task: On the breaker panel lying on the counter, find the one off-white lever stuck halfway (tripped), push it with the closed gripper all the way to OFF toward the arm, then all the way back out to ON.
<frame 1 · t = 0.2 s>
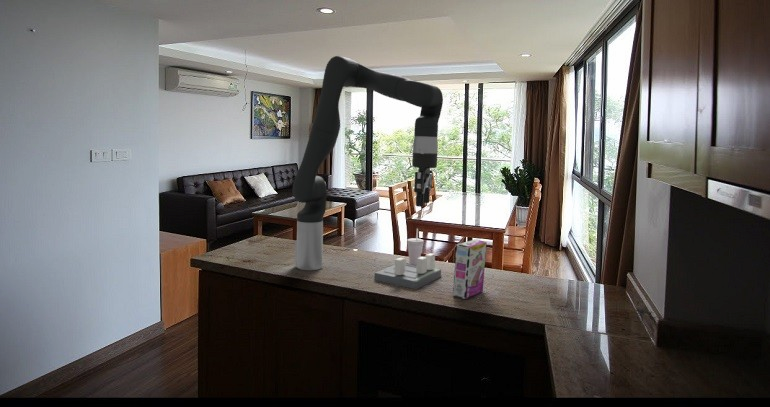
hand: (422, 204, 145), 27 cm above the counter, fingers open, 8 cm apart
breaker panel: (408, 278, 162), on the counter
candy bar box: (468, 294, 147), on the counter
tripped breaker: (400, 266, 156), point 5 cm above the counter, slide at 5.0 cm
smoothie: (414, 265, 180), on the counter
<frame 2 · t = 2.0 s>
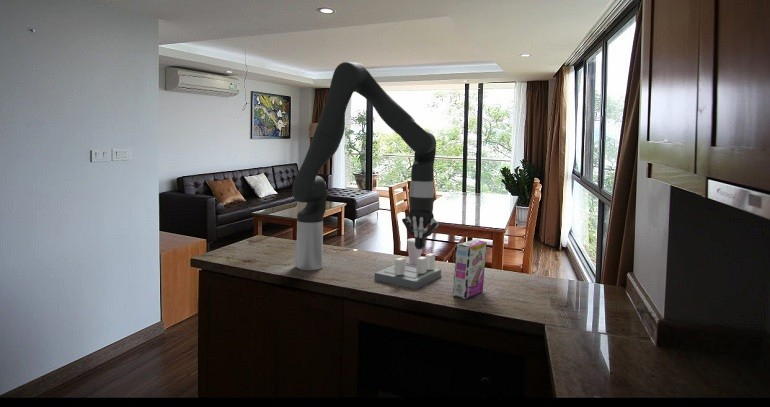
hand: (419, 248, 151), 13 cm above the counter, fingers closed
nothing on the counter moved.
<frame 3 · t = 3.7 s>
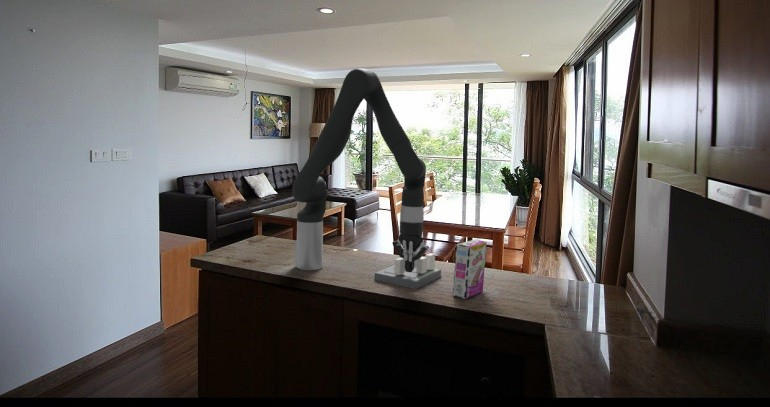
hand: (409, 271, 154), 4 cm above the counter, fingers closed
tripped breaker: (399, 266, 156), point 5 cm above the counter, slide at 4.9 cm, touching gripper
everything else where it was.
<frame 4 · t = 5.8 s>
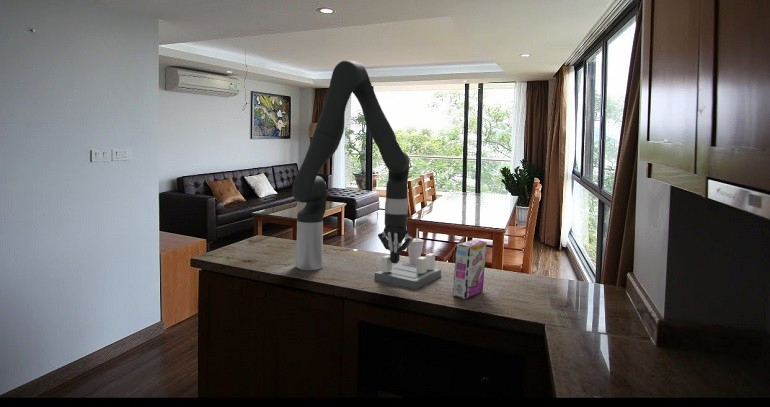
hand: (394, 262, 157), 6 cm above the counter, fingers closed
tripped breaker: (386, 263, 158), point 5 cm above the counter, slide at -0.1 cm, touching gripper
everything else where it was.
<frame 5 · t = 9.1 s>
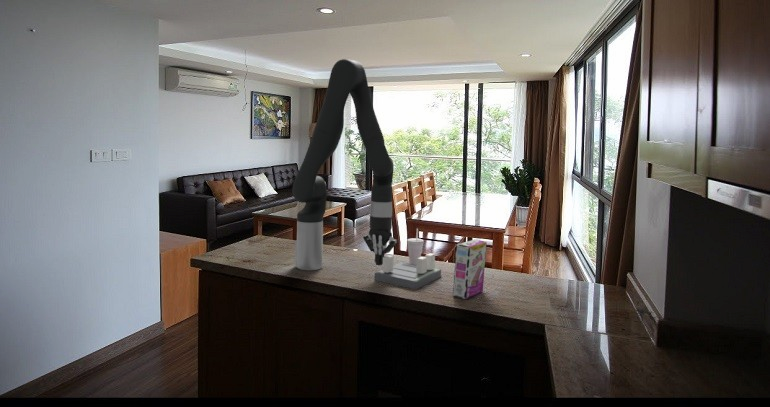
hand: (379, 264, 160), 5 cm above the counter, fingers closed
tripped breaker: (388, 263, 158), point 5 cm above the counter, slide at 0.3 cm, touching gripper
everything else where it was.
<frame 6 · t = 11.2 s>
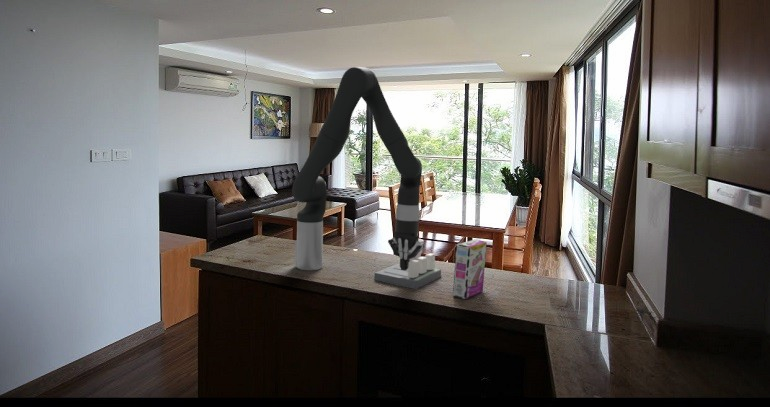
hand: (404, 269, 155), 5 cm above the counter, fingers closed
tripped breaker: (413, 268, 153), point 5 cm above the counter, slide at 10.2 cm, touching gripper
everything else where it was.
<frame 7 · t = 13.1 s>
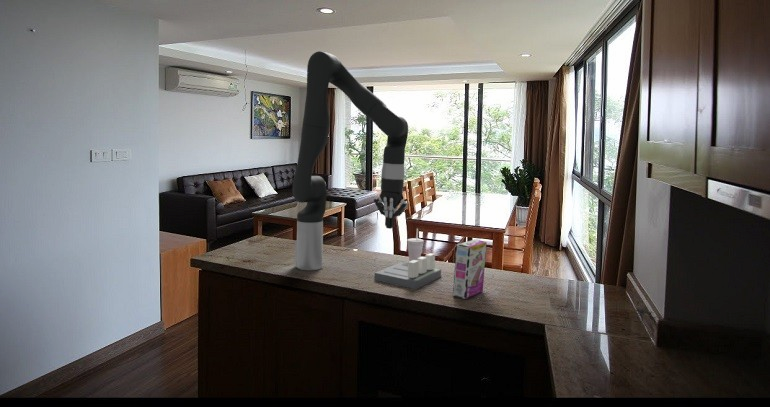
hand: (389, 228, 159), 17 cm above the counter, fingers closed
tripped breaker: (413, 268, 153), point 5 cm above the counter, slide at 10.1 cm
everything else where it was.
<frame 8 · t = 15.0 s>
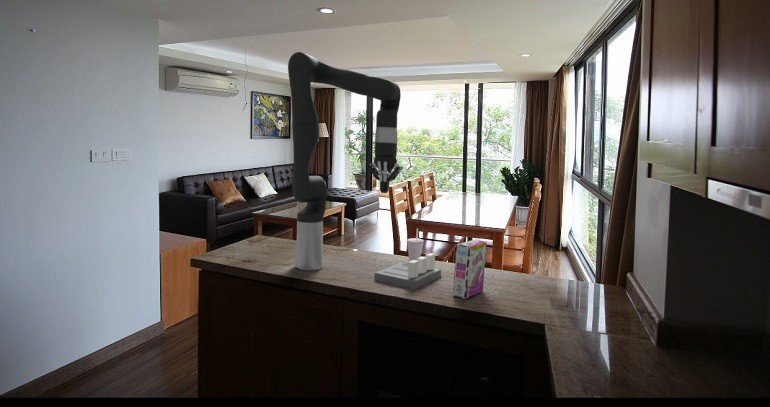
hand: (384, 192, 160), 29 cm above the counter, fingers closed
nothing on the counter moved.
at the end: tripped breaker slide at 10.1 cm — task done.
